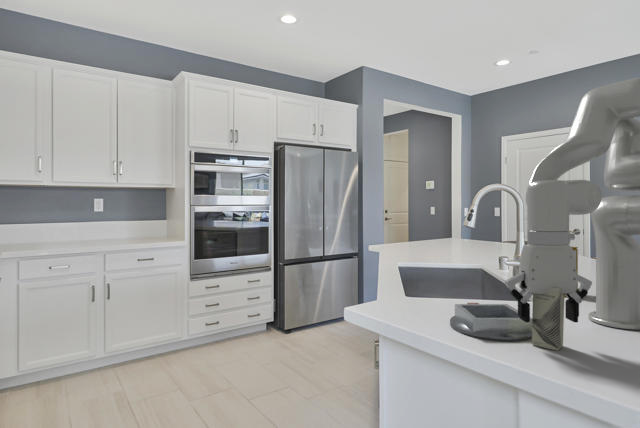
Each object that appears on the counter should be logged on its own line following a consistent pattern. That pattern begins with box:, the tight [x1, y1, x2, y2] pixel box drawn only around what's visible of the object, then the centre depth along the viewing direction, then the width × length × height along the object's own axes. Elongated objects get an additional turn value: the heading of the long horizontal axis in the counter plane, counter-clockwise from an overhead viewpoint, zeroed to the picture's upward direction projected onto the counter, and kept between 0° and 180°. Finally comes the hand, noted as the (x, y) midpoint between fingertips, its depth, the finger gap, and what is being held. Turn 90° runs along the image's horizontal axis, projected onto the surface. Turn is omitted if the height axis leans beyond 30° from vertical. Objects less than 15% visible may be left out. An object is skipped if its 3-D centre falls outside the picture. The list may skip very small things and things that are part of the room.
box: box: [531, 288, 565, 351], centre depth 80 cm, size 5×4×13 cm
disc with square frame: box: [449, 302, 532, 342], centre depth 94 cm, size 19×22×4 cm
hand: (548, 320), depth 80 cm, fingers open, 9 cm apart
